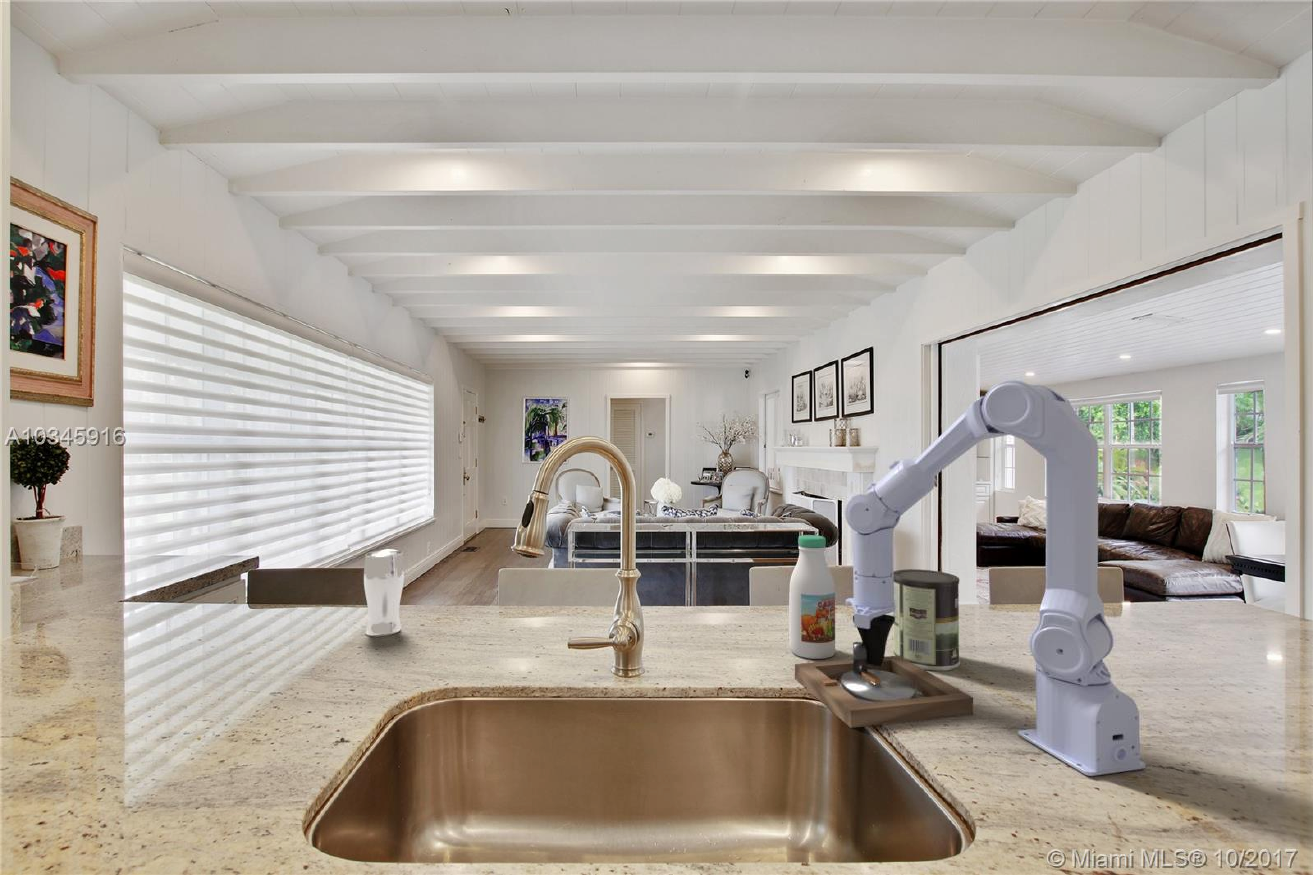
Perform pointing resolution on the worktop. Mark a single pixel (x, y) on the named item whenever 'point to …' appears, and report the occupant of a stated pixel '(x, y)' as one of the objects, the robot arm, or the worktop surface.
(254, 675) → the worktop surface
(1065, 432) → the robot arm
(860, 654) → the dial
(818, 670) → the frame
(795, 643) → the milk bottle
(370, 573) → the beer glass
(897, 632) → the coffee can
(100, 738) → the worktop surface
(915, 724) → the worktop surface
